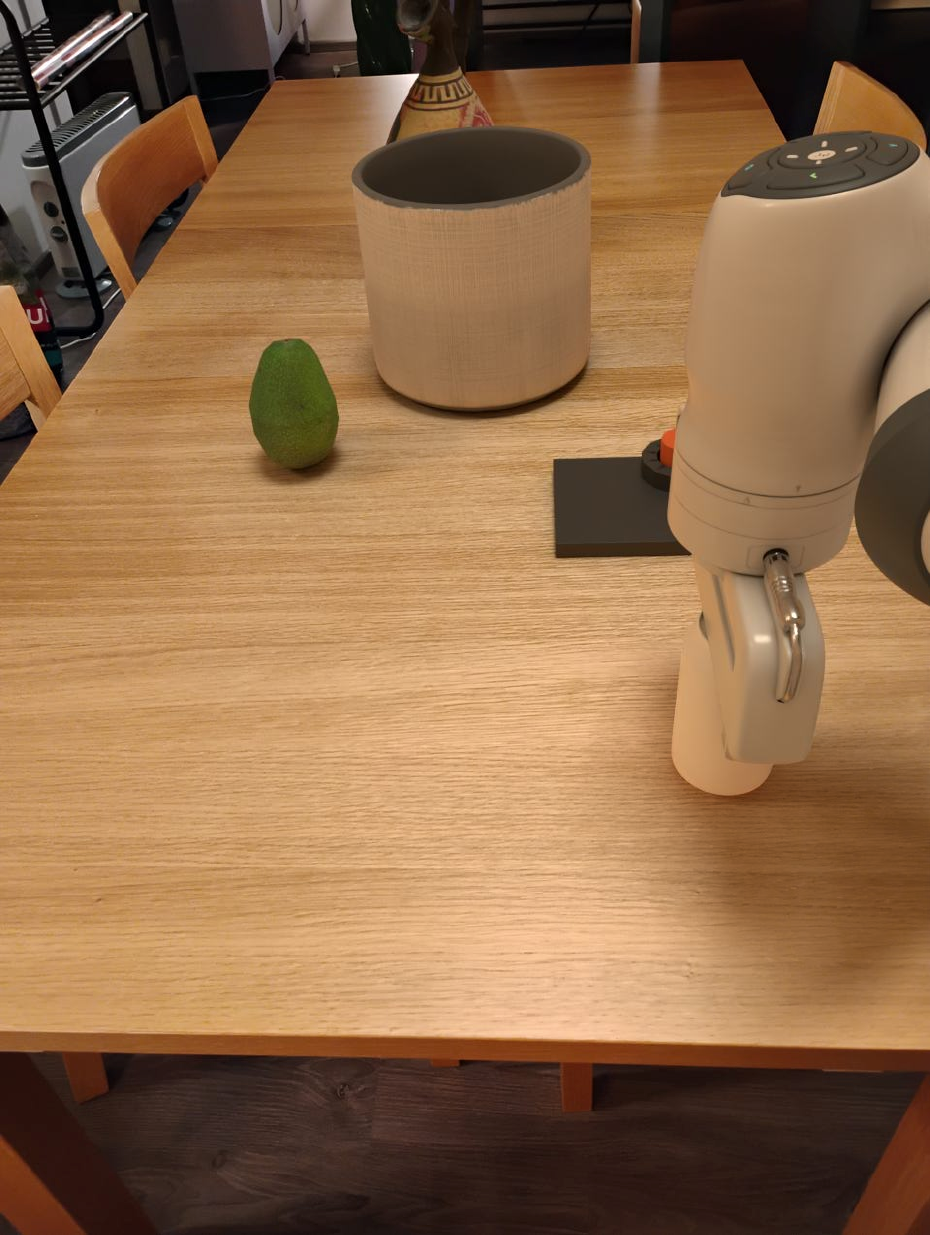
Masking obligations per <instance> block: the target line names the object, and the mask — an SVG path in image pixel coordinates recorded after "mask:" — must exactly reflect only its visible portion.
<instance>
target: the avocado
mask: <svg viewBox="0 0 930 1235" xmlns="http://www.w3.org/2000/svg"><path fill="white" fill-rule="evenodd" d="M250 389H251V390H250V394H249V400H248V409H249V414H250V420H251V426H252V431H253V434H254V436H255V438H256V440H257V442H258V444H259V446H260V448H261V449H262V450H263V452H264V453H265V455H266V457H267V458H268V459H270V460H271V461H272V462H274V463H275V464H277V465H279V466H281V467H284V468H287V469H293V470H294V469H295V470H303V469H305V468H308V467H311V466H313V465H315V464H318V463H320V462H321V461H323V460H324V459H325V458H326V457H327V456H328V455H329V454H330V452H331V451H332V450H333V447H334V444H335V442H336V438H337V435H338V430H339V424H340V423H339V422H340V415H339V409H338V402H337V397H336V395H335V392H334V390H333V388H332V385H331V384H330V381H329V378H328V376H327V374H326V372H325V370H324V368H323V365H322V363H321V361H320V358H319V356H318V355H317V353H316V351H315V350H314V349H313V347H312V346H311V345H310V344H309V343H308V342H306V341H305V340H303V339H302V338H286V339H285V338H284V339H278V340H273V341H272V342H271V343H270V344H269V345H268V346H267V347H265V349H264V350H263V352H262V354H261V355H260V358H259V361H258V365H257V368H256V371H255V373H254V376H253V380H252V383H251V388H250Z"/></svg>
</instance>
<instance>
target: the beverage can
mask: <svg viewBox="0 0 930 1235" xmlns="http://www.w3.org/2000/svg"><path fill="white" fill-rule="evenodd" d="M675 699H676V701H675V709H674V719H673V728H672V729H673V730H672V737H671V758H672V762H673V765H674V767H675V769H676V771H677V772H678V773H679V775H680V776H681V777H682V778H683V779H684V780H685V781H686V782H687V783H689V784H690V785H692V786H693V787H695V788H696V789H698V790H701V791H703V792H705V793H709V794H711V795H717V796H739V795H743V794H747V793H750V792H751V791H753V790H755V789H757V788H759V787H760V786H761V785H762V784H764V783H765V782H766V780H767V779H768V777H769V775H770V773H771V772H772V768H773V765H774V764H771V765H768V764H751V763H744V762H738V761H730V760H728V759H726V757H725V755H724V749H723V743H722V736H721V735H722V732H723V724H724V723H723V717H722V712H721V707H720V702H719V696H718V691H717V686H716V680H715V675H714V670H713V664H712V659H711V654H710V649H709V643H708V638H707V633H706V627H705V622H704V617H703V611H701V610H700V612H699V614H698V616H697V619H696V620H695V621H694V622H693V623H692V624H691V625H690V626H689V627H688V629H687V630H686V632H685V634H684V636H683V639H682V644H681V655H680V663H679V672H678V682H677V692H676V698H675Z"/></svg>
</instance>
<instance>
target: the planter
mask: <svg viewBox="0 0 930 1235" xmlns="http://www.w3.org/2000/svg"><path fill="white" fill-rule="evenodd" d="M350 176H351V177H350V178H351V187H352V195H353V202H354V209H355V210H354V211H355V216H356V225H357V232H358V240H359V246H360V254H361V263H362V270H363V272H362V273H363V278H364V279H363V280H364V285H365V286H364V288H365V296H366V303H367V312H368V321H369V329H370V336H371V343H372V351H373V357H374V362H375V366H376V369H377V372H378V374H379V376H380V377H381V379H382V380H383V382H385V384H386V385H387V386H388V387H389V388H391V389H392V390H394V391H395V392H397V393H398V394H400V395H401V396H403V397H404V398H407V399H409V400H411V401H413V402H416V403H417V404H422V405H425V406H428V407H432V408H436V409H440V410H446V411H455V412H456V411H457V412H474V413H476V412H477V413H478V412H489V411H490V412H491V411H499V410H507V409H512V408H516V407H519V406H523V405H527V404H530V403H533V402H536V401H539V400H541V399H543V398H545V397H547V396H549V395H551V394H553V393H555V392H557V391H559V390H560V389H562V388H563V387H565V386H566V385H568V384H569V383H570V382H571V381H572V380H574V379H575V378H576V377H577V376H578V375H579V374H580V373H581V371H582V370H583V369H584V367H585V366H586V364H587V363H588V362H587V361H588V359H589V356H590V348H591V336H592V335H591V334H592V333H591V332H592V330H591V329H592V327H591V326H592V256H591V255H592V156H591V154H590V152H589V150H588V149H587V147H585V145H583V144H582V143H581V142H579V141H578V140H575V139H574V138H571V137H569V136H566V135H563V134H561V133H558V132H554V131H550V130H545V129H539V128H533V127H527V126H526V127H525V126H515V125H514V126H513V125H494V126H473V127H461V128H452V129H445V130H438V131H433V132H428V133H423V134H419V135H415V136H411V137H407V138H404V139H401V140H398V141H395V142H392V143H390V144H387V145H386V144H385V145H383V146H381V147H378V148H377V149H375V150H372V151H371V152H369V153H368V154H366V155H365V156H364V157H362V158H361V159H360V160H359V161H358V162H357V163H356V165H354V167H353V169H352V172H351V175H350Z"/></svg>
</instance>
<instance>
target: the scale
mask: <svg viewBox="0 0 930 1235" xmlns="http://www.w3.org/2000/svg"><path fill="white" fill-rule="evenodd" d="M660 450H661V438H658V439H655V440H653V441H651V442H649V443H648V444H647V445H646V446H645V448H644V449H643V450H642V451H641V456H612V457H611V456H609V457H577V458H576V457H575V458H574V457H573V458H553V459H552V463H553V464H552V466H553V467H552V469H553V474H552V475H553V477H552V478H553V506H554V507H553V510H554V511H553V512H554V544H555V545H554V550H555V551H554V552H555V554H554V555H555V558H588V557H589V558H592V557H595V558H596V557H637V556H638V557H639V556H641V557H642V556H685V555H686V556H687V555H688V556H690V555H691V556H692V553H691V552H689V551H688V550H687V549H686V548H685V547H683V546H682V545H681V544H680V542H679V541H678V540H677V539H676V537H675V536H674V535H673V533H672V531H671V529H670V526H669V523H668V518H667V510H668V501H669V492H670V482H671V472H672V467H669V466H665V465H663V464H662V463H661V461H660Z"/></svg>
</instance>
